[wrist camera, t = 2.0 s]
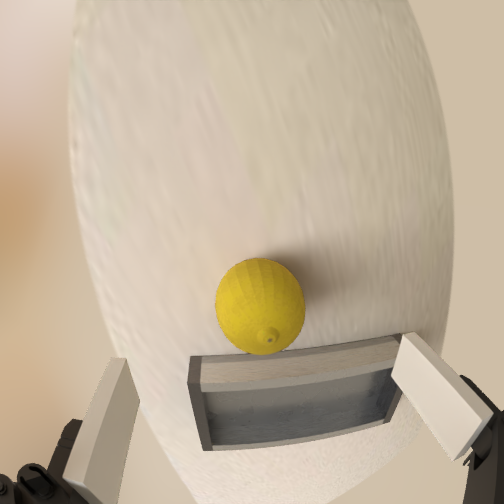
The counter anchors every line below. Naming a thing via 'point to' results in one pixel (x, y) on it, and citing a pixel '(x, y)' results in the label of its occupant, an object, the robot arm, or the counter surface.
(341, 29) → the counter surface
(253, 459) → the counter surface
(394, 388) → the tray
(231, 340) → the lemon
